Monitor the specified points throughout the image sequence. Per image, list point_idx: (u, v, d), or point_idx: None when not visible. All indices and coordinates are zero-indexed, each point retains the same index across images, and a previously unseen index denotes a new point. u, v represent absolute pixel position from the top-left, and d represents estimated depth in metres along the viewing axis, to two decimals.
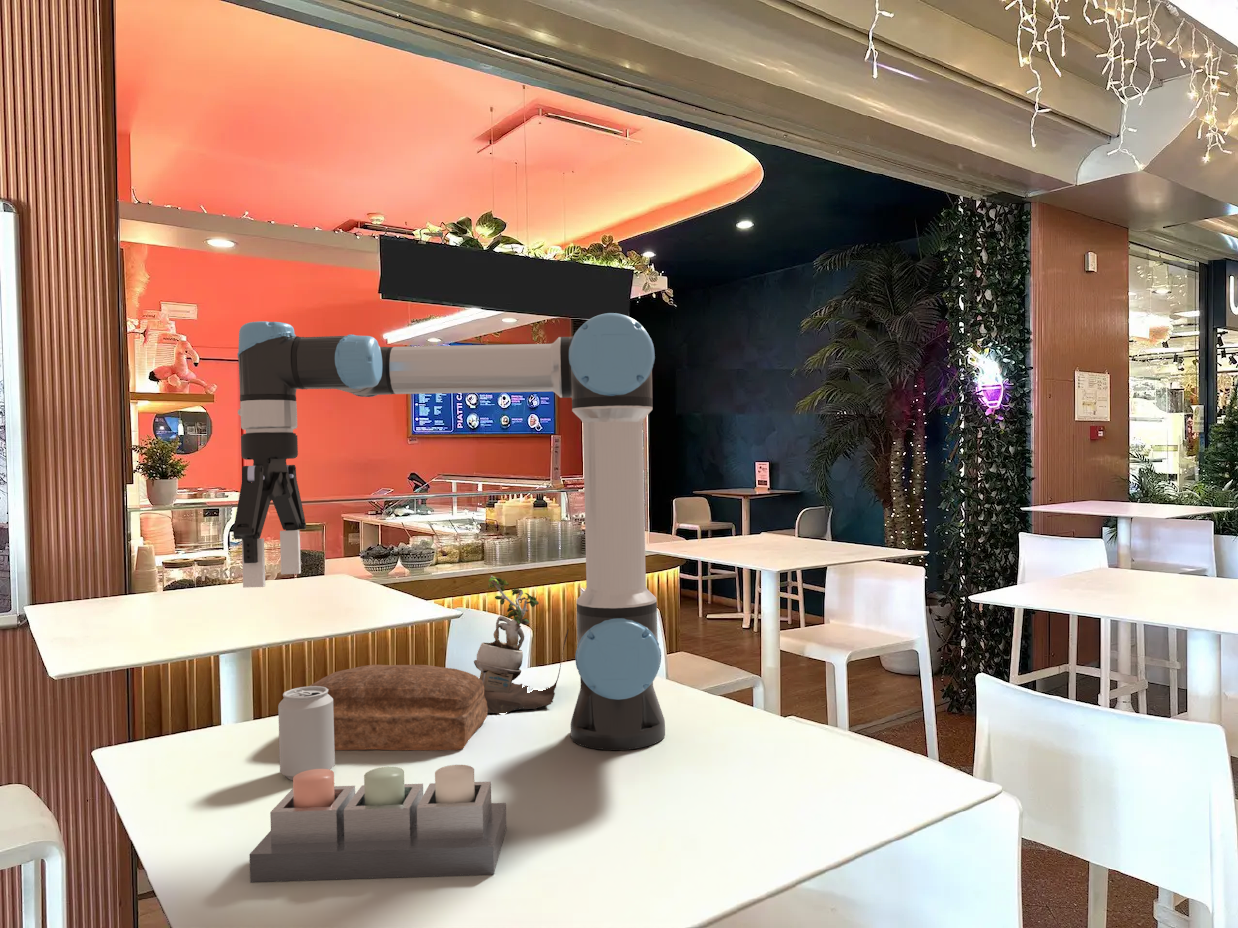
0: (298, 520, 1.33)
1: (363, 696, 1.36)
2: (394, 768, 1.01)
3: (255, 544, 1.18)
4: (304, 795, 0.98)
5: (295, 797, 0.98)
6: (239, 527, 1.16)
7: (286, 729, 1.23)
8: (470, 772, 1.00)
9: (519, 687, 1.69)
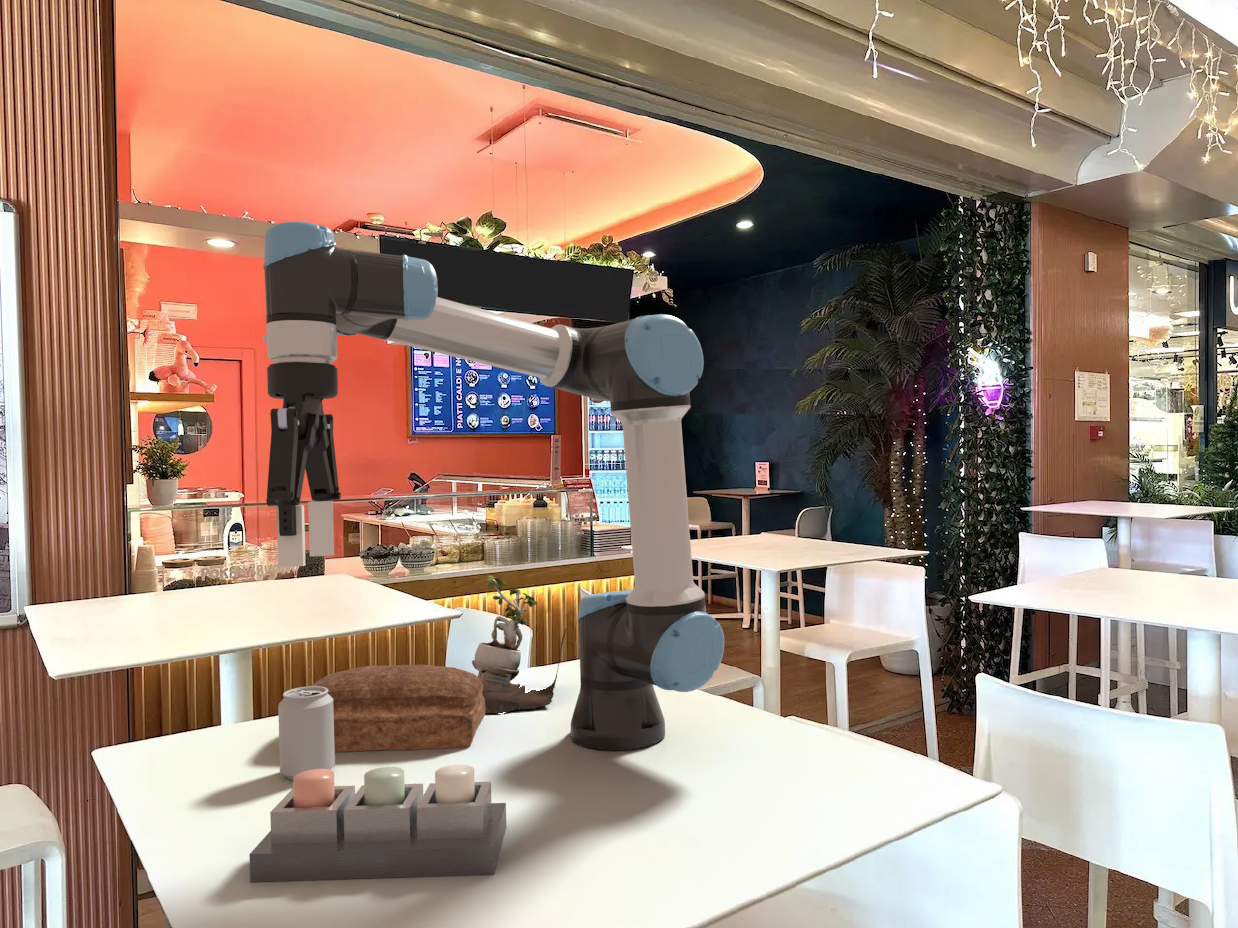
0: (331, 487, 1.05)
1: (368, 697, 1.36)
2: (394, 768, 1.01)
3: (293, 512, 0.94)
4: (304, 795, 0.98)
5: (295, 797, 0.98)
6: (274, 490, 0.92)
7: (286, 729, 1.23)
8: (470, 772, 1.00)
9: (517, 687, 1.70)
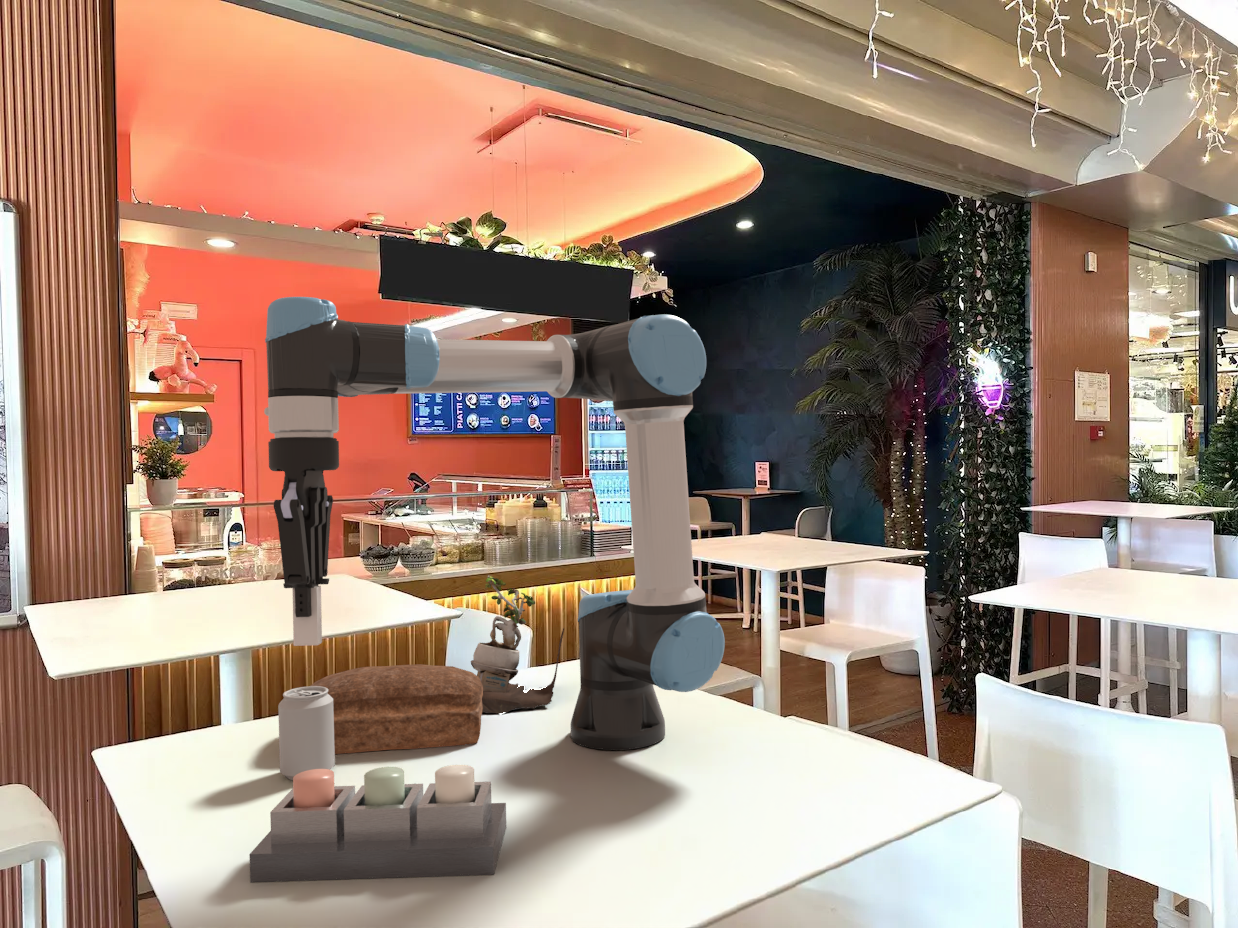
0: (321, 570, 1.01)
1: (374, 697, 1.36)
2: (394, 768, 1.01)
3: (309, 594, 0.98)
4: (304, 795, 0.98)
5: (295, 797, 0.98)
6: (291, 574, 0.96)
7: (286, 729, 1.23)
8: (470, 772, 1.00)
9: (515, 687, 1.70)
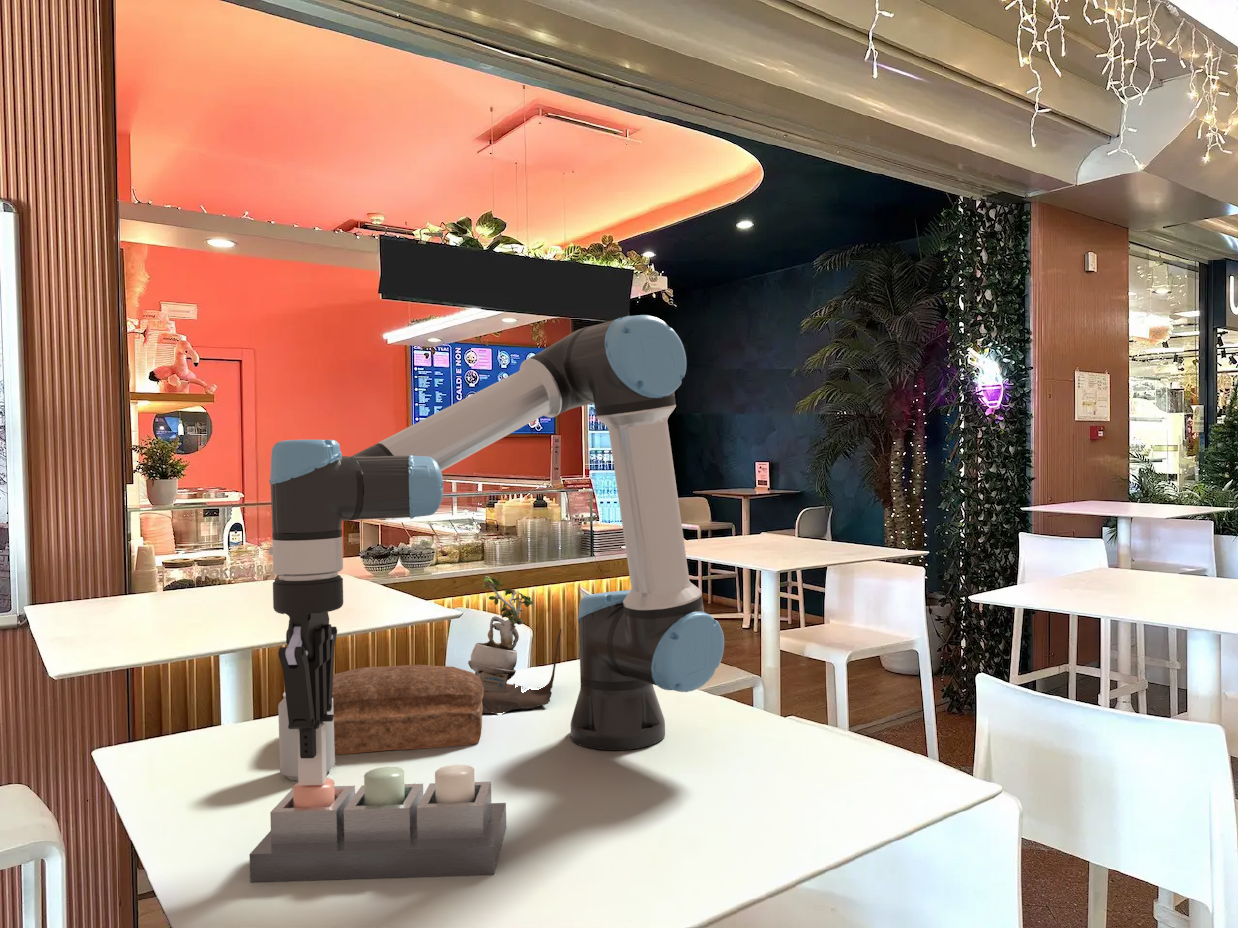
0: (325, 707, 1.01)
1: (375, 698, 1.35)
2: (394, 768, 1.01)
3: (313, 735, 0.98)
4: (304, 804, 0.98)
5: (295, 806, 0.98)
6: None
7: (286, 729, 1.23)
8: (470, 772, 1.00)
9: (513, 687, 1.70)
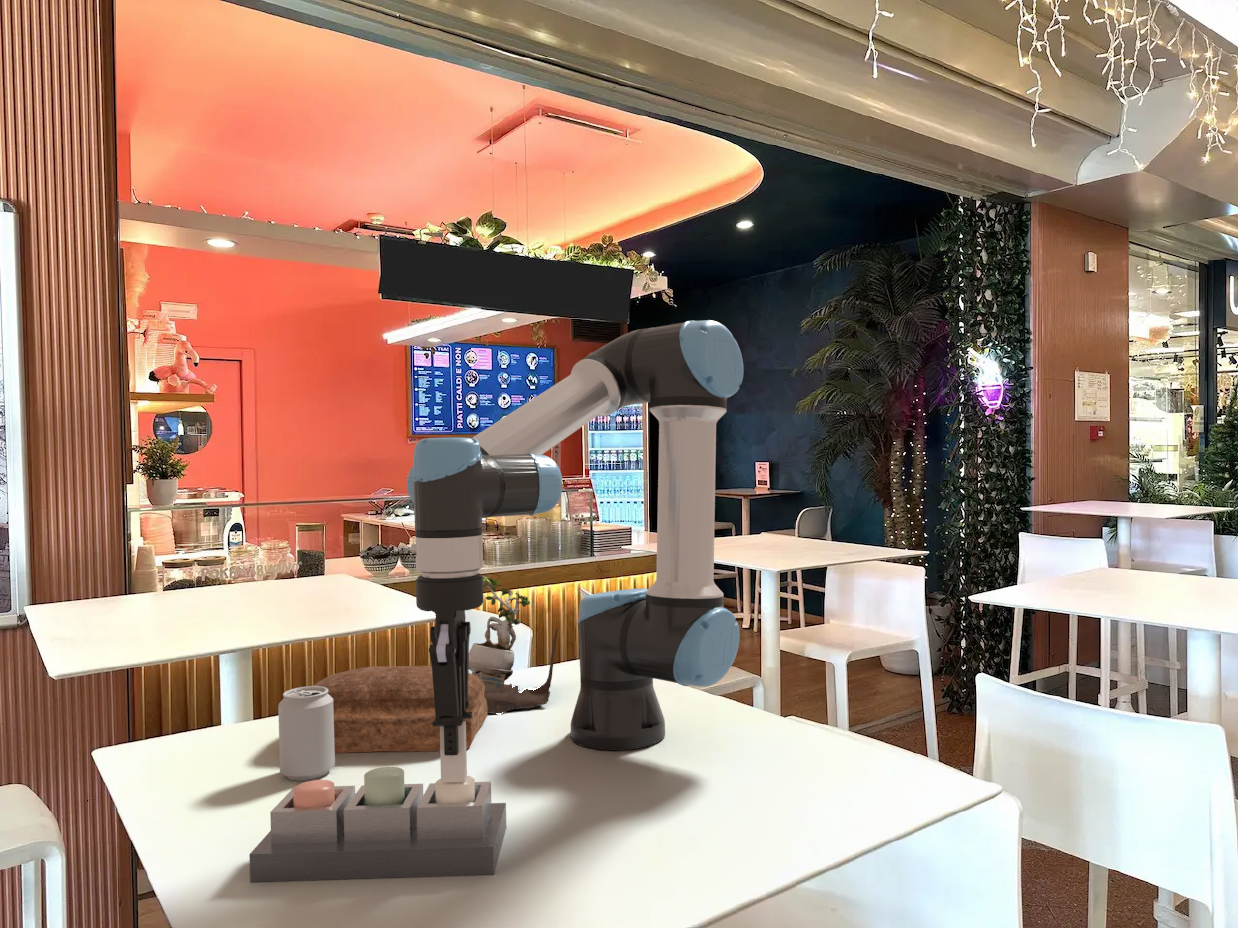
0: (464, 704, 1.01)
1: (367, 698, 1.35)
2: (394, 768, 1.01)
3: (457, 732, 0.99)
4: (304, 806, 0.98)
5: None
6: (442, 715, 0.96)
7: (286, 729, 1.23)
8: (470, 782, 1.00)
9: (510, 687, 1.70)
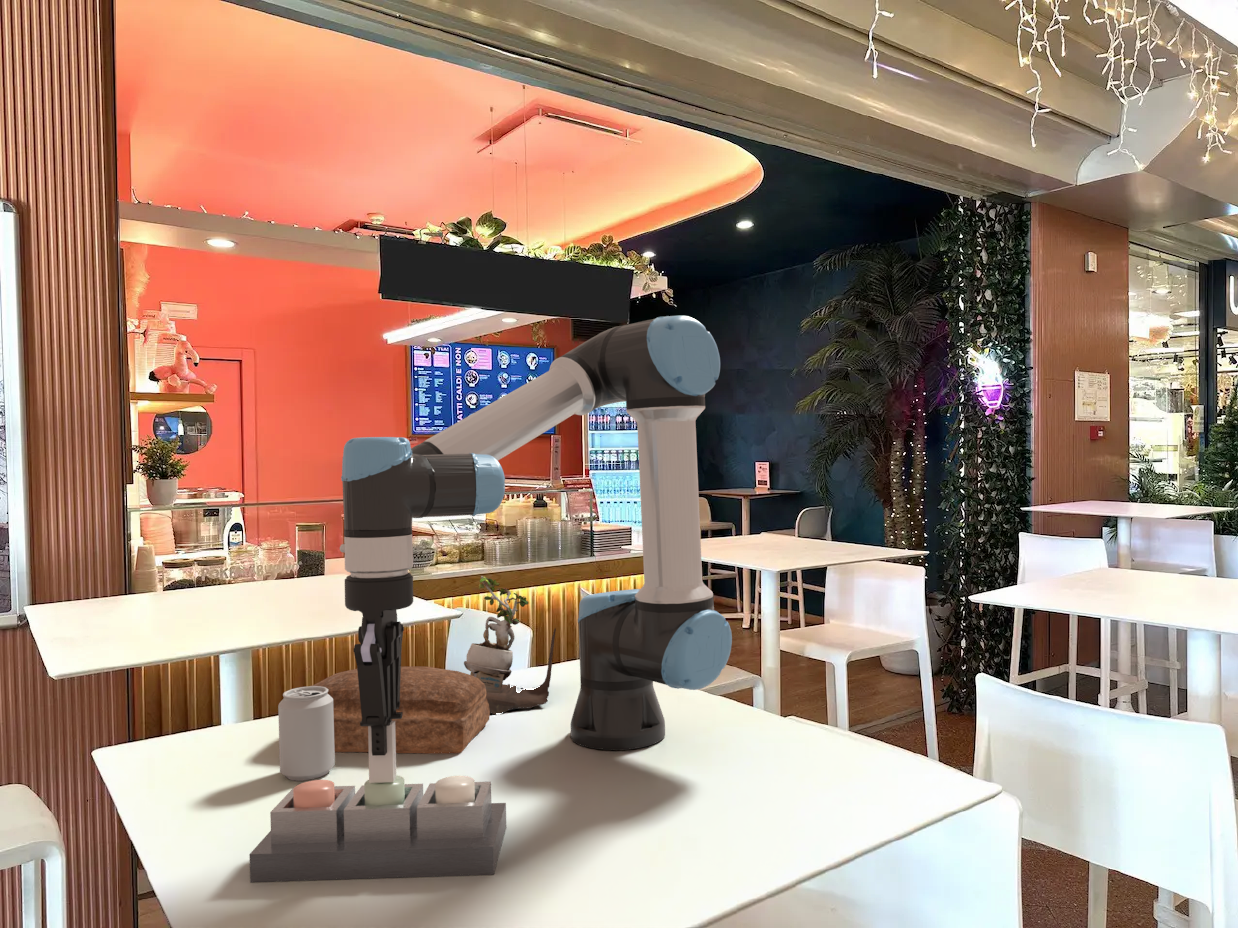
0: (395, 704, 1.01)
1: None
2: None
3: (385, 732, 0.98)
4: (304, 806, 0.98)
5: None
6: (369, 715, 0.96)
7: (286, 729, 1.23)
8: (470, 783, 1.00)
9: (508, 687, 1.70)
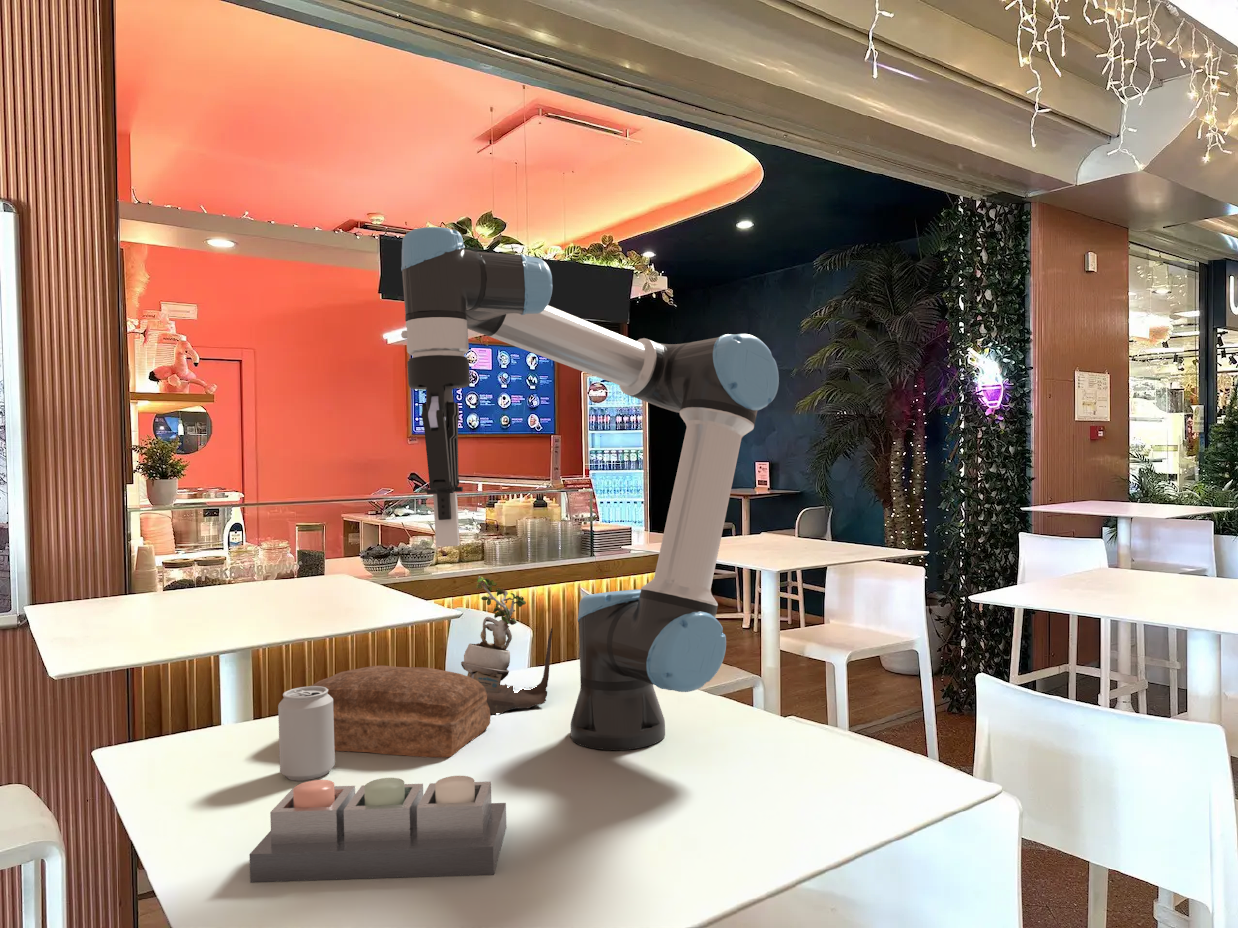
0: (455, 479, 1.11)
1: (355, 698, 1.35)
2: (394, 779, 1.01)
3: (449, 499, 1.08)
4: (304, 806, 0.98)
5: None
6: (435, 480, 1.06)
7: (286, 729, 1.23)
8: (470, 783, 1.00)
9: (505, 687, 1.69)
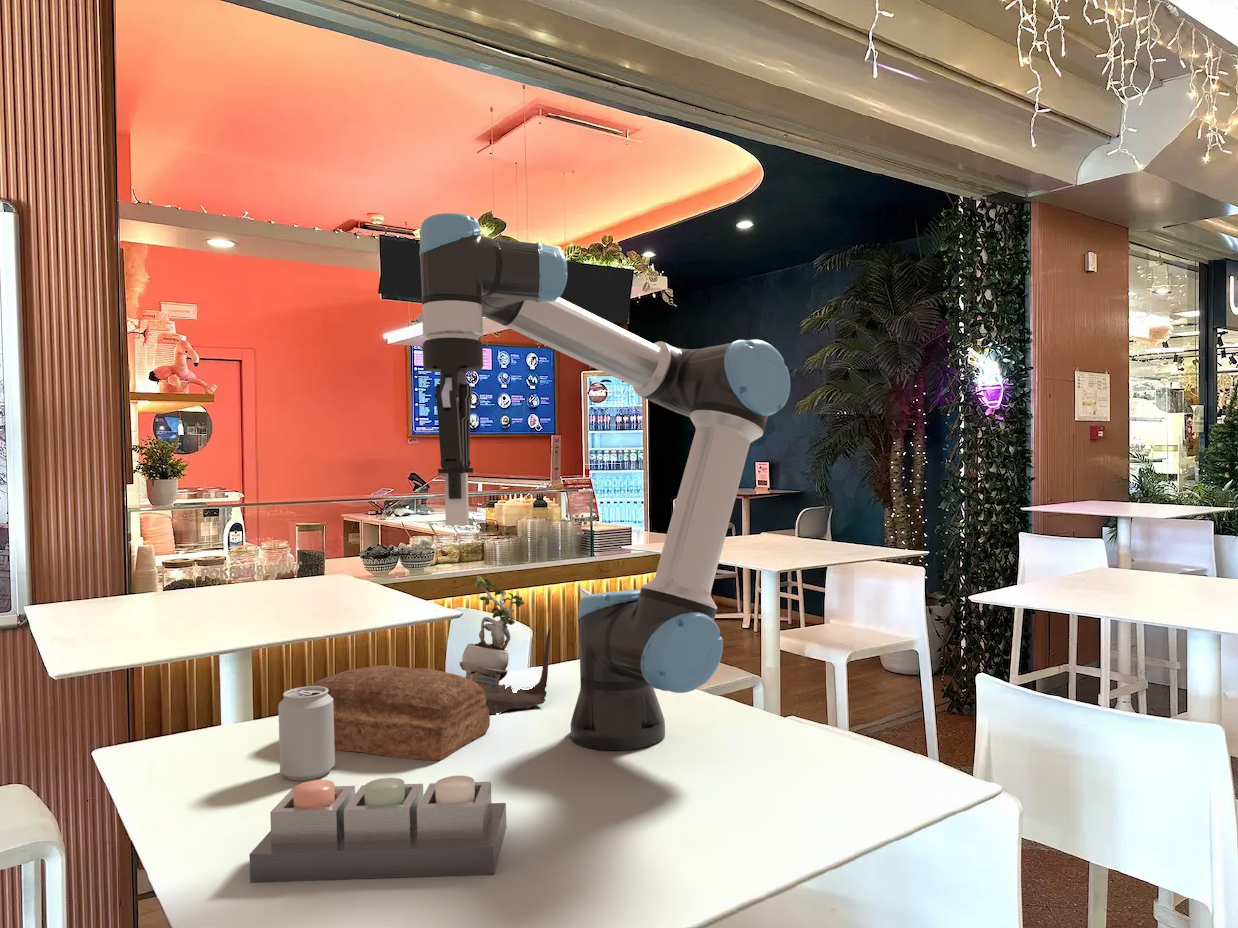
0: (467, 460, 1.13)
1: (351, 698, 1.36)
2: (394, 779, 1.01)
3: (460, 479, 1.10)
4: (304, 806, 0.98)
5: None
6: (447, 459, 1.08)
7: (286, 729, 1.23)
8: (470, 783, 1.00)
9: (503, 687, 1.69)
